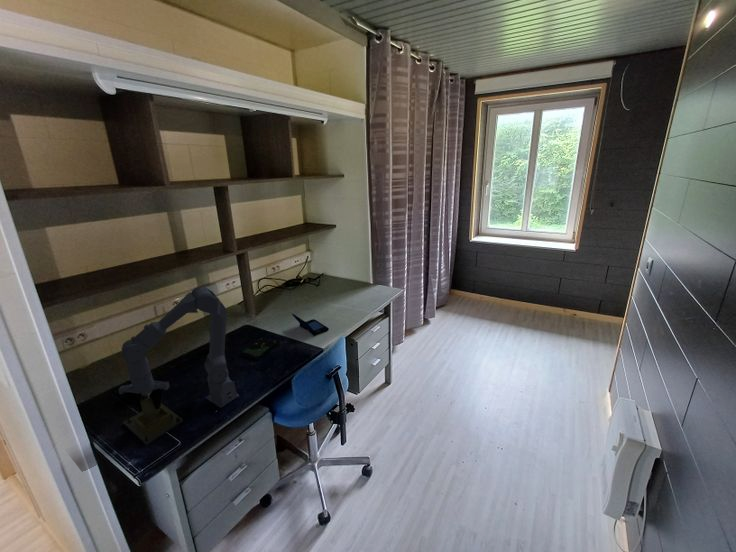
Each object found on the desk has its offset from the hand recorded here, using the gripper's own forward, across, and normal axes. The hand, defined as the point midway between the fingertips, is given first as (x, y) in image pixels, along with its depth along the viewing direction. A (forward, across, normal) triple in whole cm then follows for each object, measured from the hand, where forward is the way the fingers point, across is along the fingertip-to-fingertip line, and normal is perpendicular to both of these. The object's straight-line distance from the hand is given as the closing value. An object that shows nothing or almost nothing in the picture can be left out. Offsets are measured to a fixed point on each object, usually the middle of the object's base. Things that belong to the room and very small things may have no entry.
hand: (150, 408), depth 112 cm
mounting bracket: (+7, +1, -1) cm, 7 cm away
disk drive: (+8, -29, -43) cm, 52 cm away
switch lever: (+2, 0, 0) cm, 2 cm away
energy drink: (+7, -8, -47) cm, 49 cm away
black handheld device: (+7, -52, -59) cm, 79 cm away
